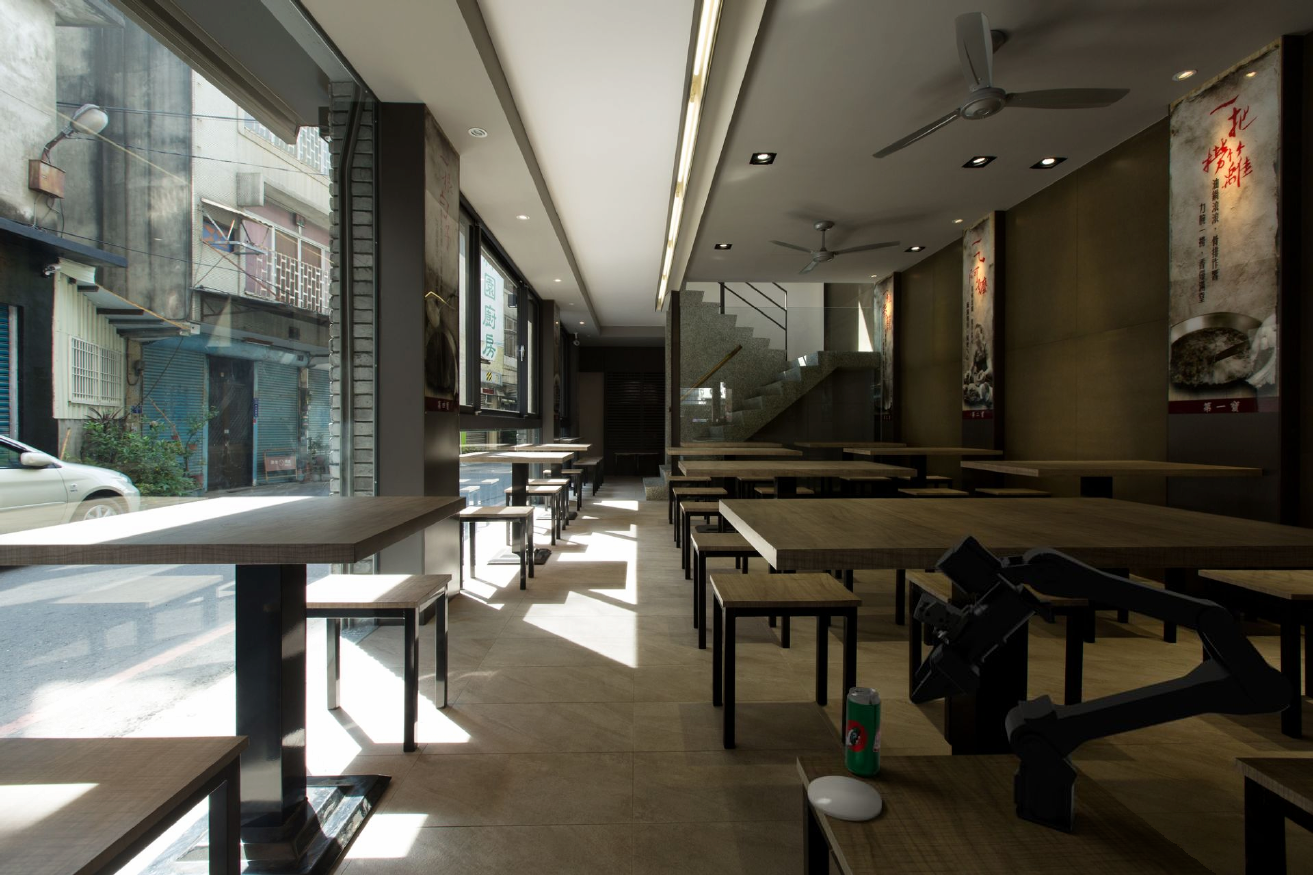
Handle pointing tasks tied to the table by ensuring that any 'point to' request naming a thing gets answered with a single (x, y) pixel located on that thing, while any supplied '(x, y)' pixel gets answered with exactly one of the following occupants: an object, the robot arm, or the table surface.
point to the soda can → (863, 731)
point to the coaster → (844, 798)
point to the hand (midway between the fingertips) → (915, 689)
